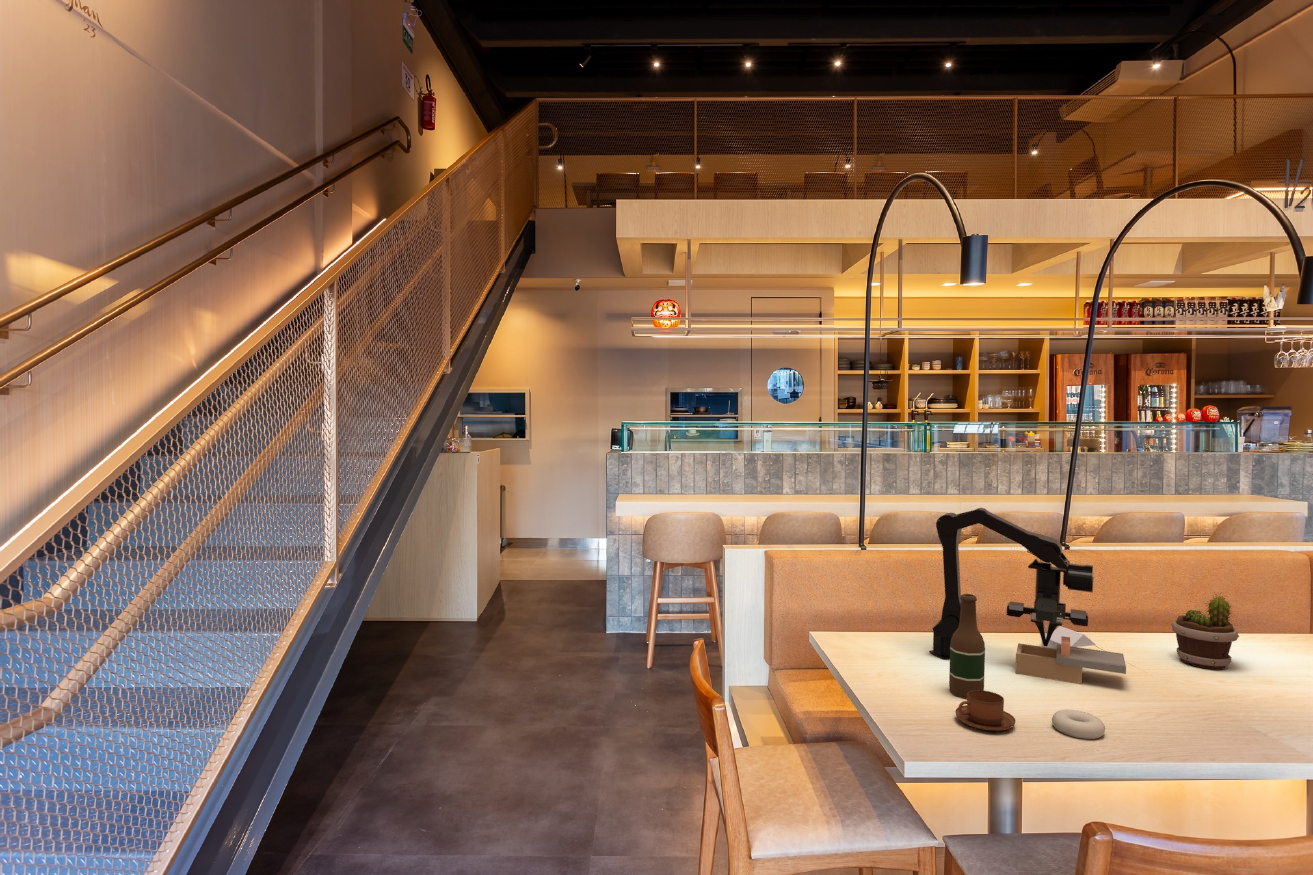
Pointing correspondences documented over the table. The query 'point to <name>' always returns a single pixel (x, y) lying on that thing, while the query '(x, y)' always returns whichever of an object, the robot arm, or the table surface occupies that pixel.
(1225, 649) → the flowerpot
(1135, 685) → the table surface
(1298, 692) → the table surface
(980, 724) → the cup and saucer
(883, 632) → the table surface
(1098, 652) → the lid
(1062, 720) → the donut
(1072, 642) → the wedge on round base
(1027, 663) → the base
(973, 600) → the beer bottle
